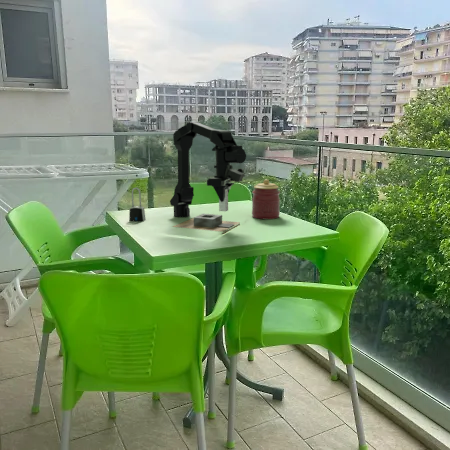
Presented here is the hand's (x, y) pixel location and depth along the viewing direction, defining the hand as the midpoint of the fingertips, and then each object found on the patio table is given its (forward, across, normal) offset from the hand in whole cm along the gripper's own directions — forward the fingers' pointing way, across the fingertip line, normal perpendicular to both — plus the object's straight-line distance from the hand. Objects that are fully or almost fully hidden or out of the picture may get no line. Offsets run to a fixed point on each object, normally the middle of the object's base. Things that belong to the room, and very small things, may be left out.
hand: (223, 201), depth 170 cm
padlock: (+11, -1, +42) cm, 44 cm away
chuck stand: (+11, 0, +8) cm, 14 cm away
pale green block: (+4, 0, 0) cm, 4 cm away
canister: (+12, +29, -8) cm, 33 cm away
